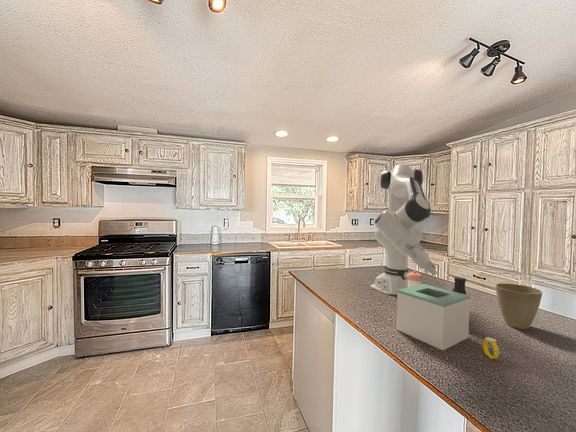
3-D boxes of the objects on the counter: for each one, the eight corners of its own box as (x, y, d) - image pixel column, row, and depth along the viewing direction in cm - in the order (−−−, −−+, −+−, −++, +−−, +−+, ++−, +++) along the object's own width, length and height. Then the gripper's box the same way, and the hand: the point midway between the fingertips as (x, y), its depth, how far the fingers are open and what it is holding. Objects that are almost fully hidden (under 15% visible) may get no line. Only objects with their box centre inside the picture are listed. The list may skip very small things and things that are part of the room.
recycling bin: (396, 329, 105) (397, 289, 104) (422, 320, 114) (423, 283, 114) (442, 350, 89) (444, 304, 89) (468, 337, 99) (469, 295, 98)
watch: (480, 352, 89) (480, 334, 89) (489, 353, 89) (489, 335, 89) (492, 361, 83) (491, 342, 83) (501, 362, 83) (501, 343, 83)
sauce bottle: (458, 328, 106) (459, 280, 106) (445, 322, 112) (446, 276, 112) (470, 326, 108) (472, 279, 108) (457, 320, 114) (458, 275, 114)
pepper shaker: (424, 315, 120) (425, 273, 119) (407, 313, 121) (408, 272, 121) (419, 309, 127) (420, 269, 126) (403, 307, 128) (404, 269, 128)
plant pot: (507, 316, 120) (508, 281, 119) (549, 330, 106) (550, 291, 105) (485, 320, 114) (487, 284, 114) (527, 336, 100) (528, 295, 100)
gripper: (413, 241, 95) (443, 272, 90) (414, 236, 113) (440, 261, 109) (399, 253, 97) (428, 282, 93) (403, 246, 115) (427, 271, 111)
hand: (435, 271), depth 101 cm, fingers open, 8 cm apart
